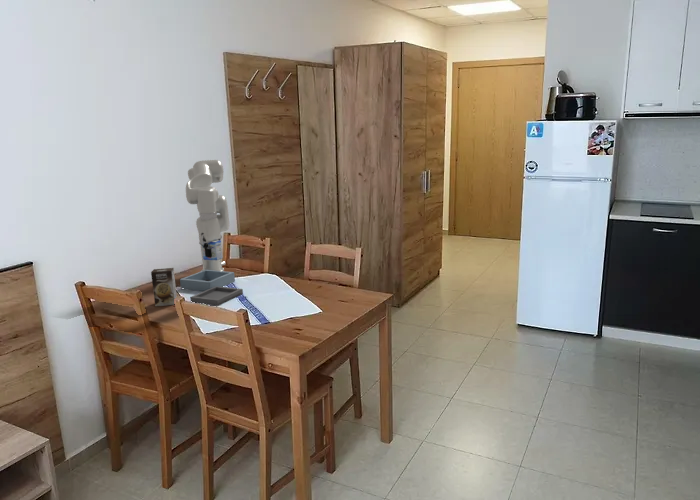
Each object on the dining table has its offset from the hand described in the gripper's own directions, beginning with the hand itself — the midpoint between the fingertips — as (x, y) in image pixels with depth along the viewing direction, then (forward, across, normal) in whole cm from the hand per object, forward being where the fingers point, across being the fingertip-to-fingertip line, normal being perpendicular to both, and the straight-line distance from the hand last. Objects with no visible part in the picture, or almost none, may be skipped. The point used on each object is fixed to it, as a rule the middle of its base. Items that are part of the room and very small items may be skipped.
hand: (212, 255), depth 247 cm
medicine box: (+2, 0, 0) cm, 2 cm away
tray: (+21, 0, 0) cm, 21 cm away
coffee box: (+21, +14, -18) cm, 31 cm away
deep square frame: (+21, -16, -19) cm, 32 cm away
